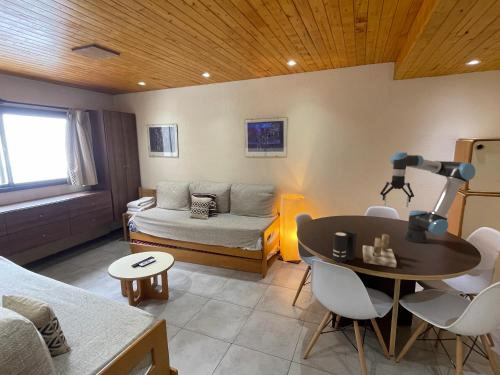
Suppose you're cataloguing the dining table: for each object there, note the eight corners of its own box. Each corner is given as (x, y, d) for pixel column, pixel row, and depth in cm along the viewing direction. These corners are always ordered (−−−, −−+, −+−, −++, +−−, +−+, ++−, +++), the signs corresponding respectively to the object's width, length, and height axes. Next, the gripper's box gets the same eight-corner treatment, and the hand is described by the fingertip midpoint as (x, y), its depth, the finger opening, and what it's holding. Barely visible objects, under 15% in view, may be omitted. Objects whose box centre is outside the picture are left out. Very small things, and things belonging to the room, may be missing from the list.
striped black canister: (328, 258, 165) (330, 232, 162) (342, 253, 172) (343, 228, 169) (341, 264, 157) (343, 237, 154) (355, 259, 164) (356, 233, 161)
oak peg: (380, 261, 161) (382, 240, 159) (373, 260, 163) (375, 239, 161) (380, 258, 165) (381, 238, 163) (372, 257, 167) (374, 237, 164)
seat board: (391, 253, 173) (393, 233, 171) (396, 267, 153) (398, 245, 151) (362, 249, 180) (364, 230, 178) (363, 262, 160) (365, 241, 158)
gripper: (418, 175, 170) (415, 206, 174) (377, 173, 179) (375, 203, 183) (421, 176, 163) (418, 208, 167) (378, 175, 172) (376, 205, 176)
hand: (395, 205), depth 175 cm, fingers open, 13 cm apart
